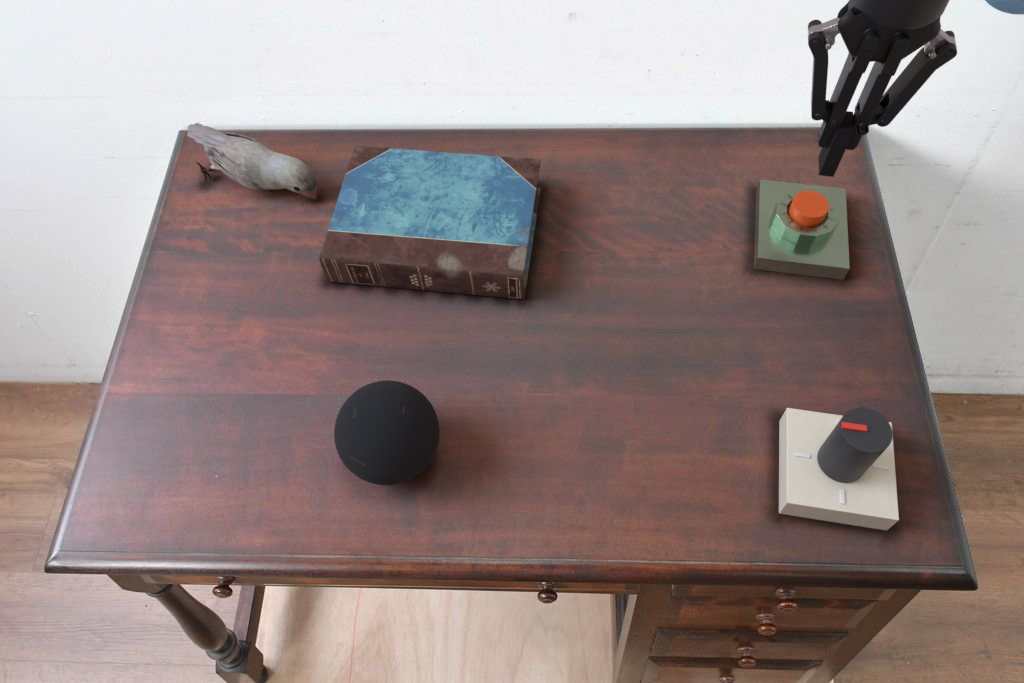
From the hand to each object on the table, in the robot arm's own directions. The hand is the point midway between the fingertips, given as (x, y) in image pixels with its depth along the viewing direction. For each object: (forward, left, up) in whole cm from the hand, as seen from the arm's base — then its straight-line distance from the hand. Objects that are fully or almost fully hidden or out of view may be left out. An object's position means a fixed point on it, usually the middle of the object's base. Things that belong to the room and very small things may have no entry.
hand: (825, 166), depth 85 cm
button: (0, 0, -7) cm, 7 cm away
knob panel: (-30, -3, -11) cm, 32 cm away
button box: (0, 0, -11) cm, 11 cm away
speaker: (-35, +40, -11) cm, 54 cm away
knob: (-30, -3, -8) cm, 31 cm away
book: (-7, +42, -11) cm, 44 cm away
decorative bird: (-2, +66, -11) cm, 67 cm away
